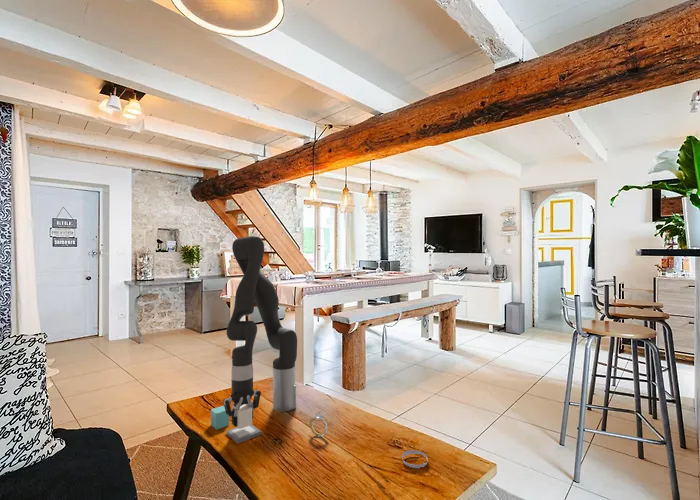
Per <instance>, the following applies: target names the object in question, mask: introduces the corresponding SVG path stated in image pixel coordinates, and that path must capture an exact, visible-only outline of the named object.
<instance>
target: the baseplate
mask: <svg viewBox="0 0 700 500" xmlns="http://www.w3.org/2000/svg"><path fill="white" fill-rule="evenodd" d="M225 433H226V435H227V436H228V437H229V438H230V439H231V438H232V439H233V440H232V439H231V440H232V441H234V442H235V443H236V444H237V445H238V444H241V443H242V442H243V441H244V442H245V441H248V440H251V439H253V438H257V437H259V436H261V435H262V430H260V429H258V428H257V426H254V425H253V424H252V425H250V426H247V427H244V428H241V429H238V428H237V427H233V428H231V429H228V430H226V432H225Z"/></svg>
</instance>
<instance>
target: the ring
mask: <svg viewBox="0 0 700 500" xmlns="http://www.w3.org/2000/svg"><path fill="white" fill-rule="evenodd" d="M315 420H320V421H322V422H323V424H324V427H325V428H324V429H325V430H324V432H323V433H321V432H317V431H316V430H315V428H314V425H313V423H314V421H315ZM309 428H310V430H311V432H312V433H313V434H314V436H316V437H318V438H320V437H324V436H325V435H326V434H327V432H328V431H329V422H328V420H327V418H326V417H324V415H323V414H322V413H320V412H318V414H317V413H315V414H314V416H313V417H312V418H311V419H310V421H309Z"/></svg>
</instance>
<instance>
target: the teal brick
mask: <svg viewBox="0 0 700 500" xmlns="http://www.w3.org/2000/svg"><path fill="white" fill-rule="evenodd" d="M210 426H211V427H213V428H214V430H219V429H223V428H225V427H228V426H230V416H228V415H227V414H226V411H225V407H224V405H220V406H218V407H214V408H211V409H210Z"/></svg>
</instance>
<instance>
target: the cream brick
mask: <svg viewBox="0 0 700 500" xmlns="http://www.w3.org/2000/svg"><path fill="white" fill-rule="evenodd" d="M250 425H253V419H252V408H251V407H249V406H248V405H246V404H244V405H242V406H240V409H239V410H238V411H237V428H238V429H241V428H244V427H247V426H250Z"/></svg>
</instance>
